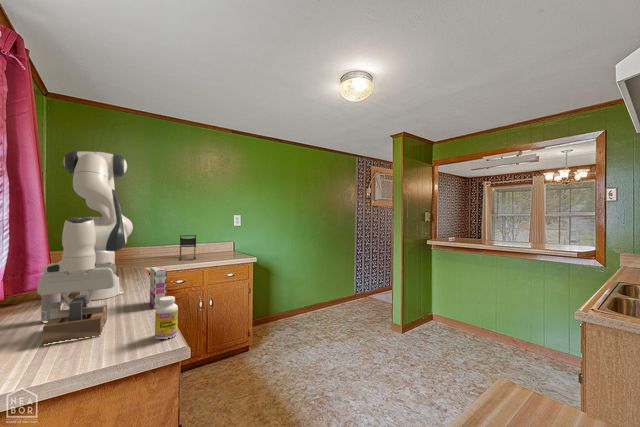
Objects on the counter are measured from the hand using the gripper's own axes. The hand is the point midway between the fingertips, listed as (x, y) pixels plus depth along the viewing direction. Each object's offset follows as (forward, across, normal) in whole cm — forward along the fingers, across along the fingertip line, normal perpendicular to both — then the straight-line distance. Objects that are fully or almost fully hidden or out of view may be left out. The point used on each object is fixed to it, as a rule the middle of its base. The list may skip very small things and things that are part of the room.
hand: (78, 304), depth 96 cm
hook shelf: (+10, 0, 0) cm, 10 cm away
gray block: (+6, 0, 0) cm, 6 cm away
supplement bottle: (+10, -26, +19) cm, 33 cm away
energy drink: (+10, +11, -17) cm, 23 cm away
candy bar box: (+10, -24, -19) cm, 32 cm away
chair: (+10, -49, -149) cm, 158 cm away
